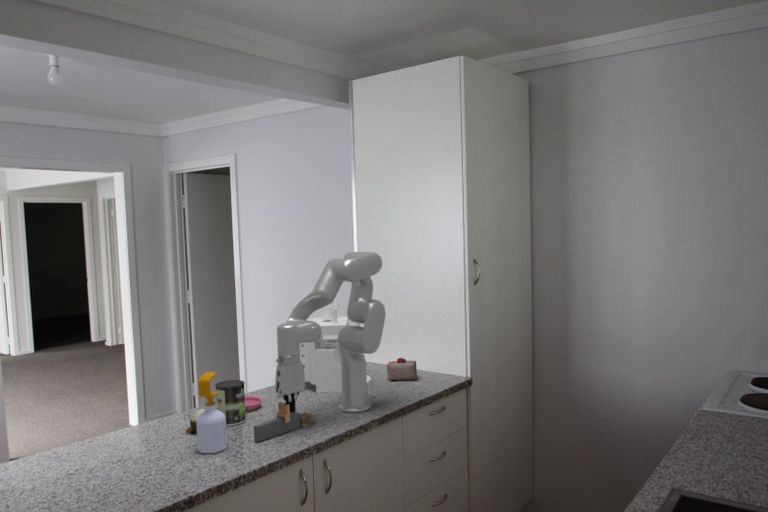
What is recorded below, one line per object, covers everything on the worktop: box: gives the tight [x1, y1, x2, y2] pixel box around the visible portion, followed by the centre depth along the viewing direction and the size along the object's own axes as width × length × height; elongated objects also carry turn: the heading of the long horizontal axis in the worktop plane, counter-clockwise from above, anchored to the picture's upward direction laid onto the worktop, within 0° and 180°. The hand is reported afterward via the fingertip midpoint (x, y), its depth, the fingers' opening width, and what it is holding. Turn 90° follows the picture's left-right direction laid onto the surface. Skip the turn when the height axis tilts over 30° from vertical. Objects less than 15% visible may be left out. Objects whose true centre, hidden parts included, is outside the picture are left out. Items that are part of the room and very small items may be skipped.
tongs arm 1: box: [253, 411, 298, 442], centre depth 205 cm, size 18×1×5 cm, turn 140°
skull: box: [185, 408, 205, 436], centre depth 212 cm, size 12×10×10 cm
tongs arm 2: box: [255, 412, 301, 443], centre depth 204 cm, size 18×1×5 cm, turn 139°
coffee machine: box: [300, 303, 372, 394], centre depth 266 cm, size 24×30×35 cm
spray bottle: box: [196, 371, 228, 455], centre depth 193 cm, size 9×9×25 cm
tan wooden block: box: [276, 401, 290, 423], centre depth 206 cm, size 2×5×6 cm, turn 49°
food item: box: [386, 356, 418, 381], centre depth 272 cm, size 14×8×10 cm, turn 88°
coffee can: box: [214, 379, 247, 427], centre depth 220 cm, size 10×10×14 cm
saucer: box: [245, 396, 263, 413], centre depth 236 cm, size 12×12×3 cm
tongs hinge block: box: [299, 412, 315, 429], centre depth 214 cm, size 5×4×4 cm
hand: (290, 411), depth 209 cm, fingers closed
